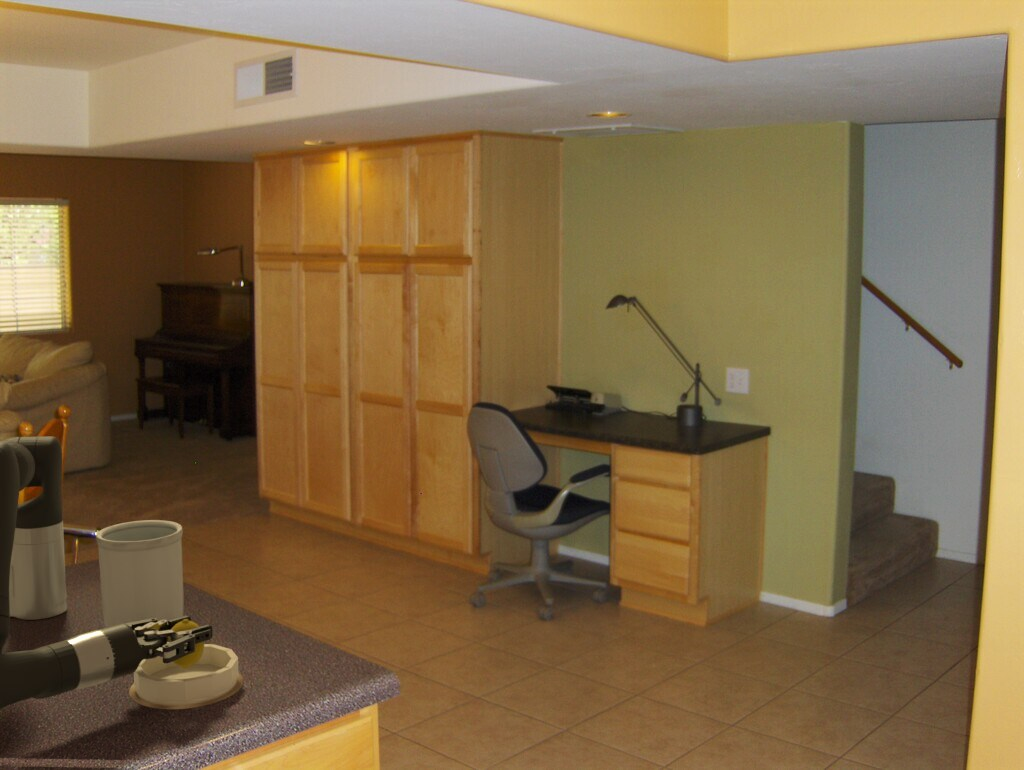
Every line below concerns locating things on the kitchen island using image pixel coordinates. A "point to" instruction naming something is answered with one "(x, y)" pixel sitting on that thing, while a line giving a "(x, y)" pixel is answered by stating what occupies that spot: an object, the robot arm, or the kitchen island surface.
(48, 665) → the robot arm
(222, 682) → the bowl
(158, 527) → the utensil holder
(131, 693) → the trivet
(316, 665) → the kitchen island surface
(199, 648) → the lemon
